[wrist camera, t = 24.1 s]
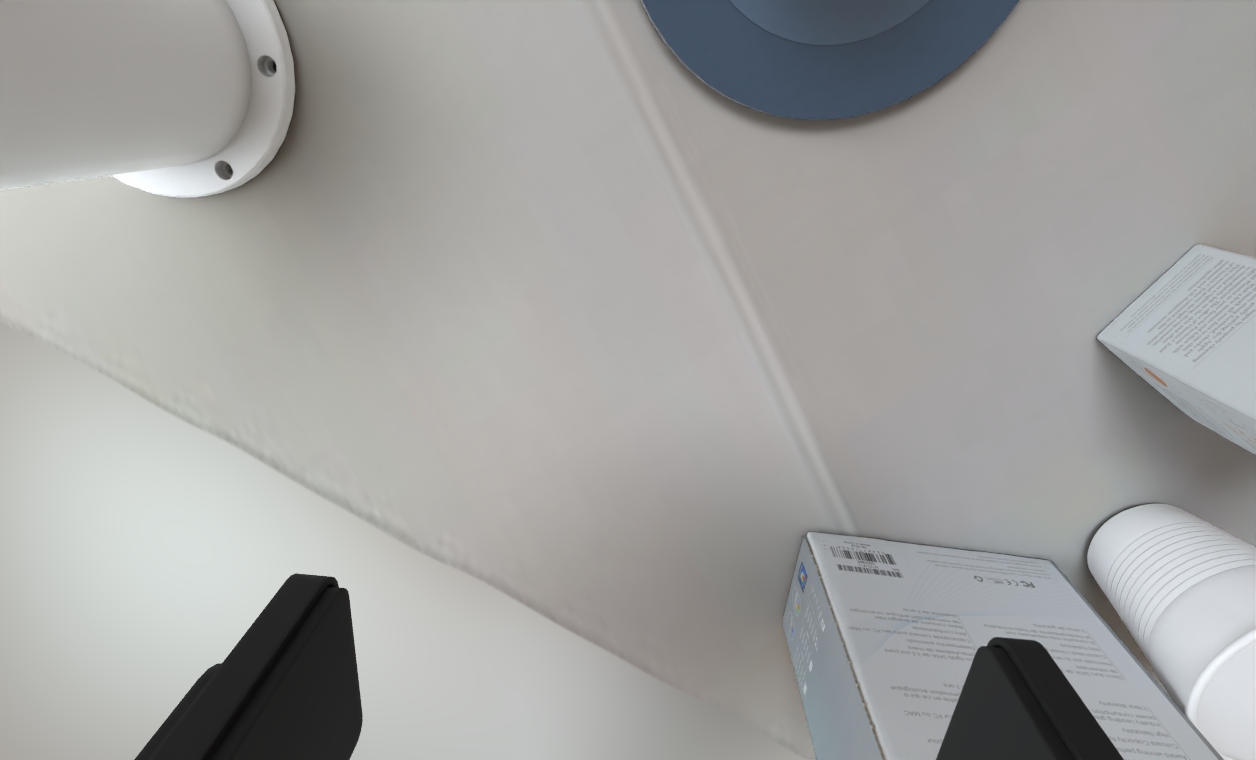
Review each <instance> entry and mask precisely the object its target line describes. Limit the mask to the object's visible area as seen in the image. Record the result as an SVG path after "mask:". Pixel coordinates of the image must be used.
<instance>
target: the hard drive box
mask: <svg viewBox="0 0 1256 760" xmlns="http://www.w3.org/2000/svg"><path fill="white" fill-rule="evenodd" d="M782 626H783V630H784V633H785V637H786V640H787V644H788V648H789V652H790V656H791V660H792V664H793V668H794V672H795V676H796V680H797V684H798V688H799V692H800V695H801V700H802V704H803V708H804V712H805V716H806V720H807V724H808V728H809V732H810V736H811V740H812V744H813V748H814V752H815V756H816V760H936V758H937V755H938V753H939V750H940V747H941V745H942V742H943V739H944V737H945V734H946V731H947V729H948V726H949V723H950V721H951V718H952V715H953V713H954V710H955V707H956V705H957V702H958V699H959V697H960V694H961V691H962V689H963V686H964V683H965V680H966V678H967V675H968V672H969V670H970V667H971V664H972V662H973V659H974V656H975V654H976V652H977V650H978V648H980V647H981V646H987V644H988V642H989V641H990V640H991V639H992V638H994V637H1004V638H1015V639H1026V640H1035V641H1037V642H1039V643H1041V644H1042V645H1043V646H1044V647H1045V649H1046V650H1047V651H1048V653H1049V654H1050V655H1051V657H1052V658H1053V660H1054V661H1055V663H1056V664H1057V665H1058V667H1059V668H1060V670H1061V671H1062V672H1063V674H1064V675H1065V677H1066V678H1067V680H1068V681H1069V682H1070V684H1071V685H1072V687H1073V688H1074V689H1075V691H1076V692H1077V694H1078V695H1079V697H1080V698H1081V699H1082V701H1083V702H1084V704H1085V705H1086V706H1087V708H1088V709H1089V711H1090V712H1091V714H1092V715H1093V716H1094V718H1095V719H1096V721H1097V722H1098V723H1099V725H1100V726H1101V728H1102V729H1103V731H1104V732H1105V733H1106V735H1107V736H1108V738H1109V739H1110V740H1111V742H1112V743H1113V745H1114V746H1115V748H1116V749H1117V750H1118V752H1119V753H1120V755H1121V756H1122V757H1123V759H1124V760H1224V759H1223V758H1222V757H1221V756H1220V755H1219V753H1218V752H1217V751H1216V750H1215V749H1214V748H1213V746H1212V745H1211V744H1210V743H1209V742H1208V741H1207V739H1206V738H1205V737H1204V736H1203V735H1202V734H1201V732H1200V731H1199V730H1198V729H1197V728H1196V727H1195V726H1194V724H1193V723H1192V722H1191V721H1190V720H1189V719H1188V717H1187V716H1186V715H1185V714H1184V713H1183V712H1182V710H1181V709H1180V708H1179V707H1178V706H1177V704H1176V703H1175V702H1174V701H1173V700H1172V699H1171V698H1170V696H1169V695H1168V694H1167V693H1166V692H1165V691H1164V689H1163V688H1162V687H1161V686H1160V685H1159V684H1158V683H1157V681H1156V680H1155V679H1154V678H1153V677H1152V676H1151V675H1150V673H1149V672H1148V671H1147V670H1146V669H1145V668H1144V666H1143V665H1142V664H1141V663H1140V662H1139V661H1138V659H1137V658H1136V657H1135V656H1134V655H1133V653H1132V652H1131V651H1130V650H1129V649H1128V647H1127V646H1126V645H1125V644H1124V643H1123V642H1122V641H1121V639H1120V638H1119V637H1118V636H1117V635H1116V634H1115V633H1114V631H1113V630H1112V629H1111V628H1110V627H1109V625H1108V624H1107V623H1106V622H1105V621H1104V620H1103V619H1102V618H1101V616H1100V615H1099V614H1098V613H1097V612H1096V611H1095V610H1094V608H1093V607H1092V606H1091V605H1090V604H1089V602H1088V601H1087V600H1086V599H1085V598H1084V597H1083V596H1082V594H1081V593H1080V592H1079V591H1078V590H1077V588H1076V587H1075V586H1074V585H1073V584H1072V583H1071V582H1070V580H1069V579H1068V578H1067V577H1066V576H1065V575H1064V574H1063V572H1062V571H1061V570H1060V569H1059V568H1058V567H1057V565H1056V564H1055V563H1054V562H1053V561H1050V560H1042V559H1034V558H1026V557H1017V556H1010V555H1006V554H995V553H989V552H979V551H967V550H959V549H951V548H943V547H935V546H926V545H917V544H909V543H902V542H893V541H885V540H881V539H874V538H865V537H858V536H842V535H834V534H825V533H818V532H808V534H807V536H806V537H803V540H802V544H801V548H800V552H799V555H798V559H797V563H796V567H795V571H794V575H793V579H792V584H791V588H790V591H789V595H788V600H787V604H786V608H785V612H784V616H783V621H782Z"/></svg>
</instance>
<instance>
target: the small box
mask: <svg viewBox="0 0 1256 760" xmlns="http://www.w3.org/2000/svg"><path fill="white" fill-rule="evenodd" d="M1097 339H1098V340H1099V341H1100V342H1101V343H1102V344H1104V345H1105V346H1106V347H1107V348H1108V349H1109V350H1110V351H1111V352H1113V353H1114V354H1115V355H1116V356H1117V357H1118V358H1119V359H1121V360H1122V361H1123V362H1124V363H1125V364H1126V365H1128V366H1129V367H1130V368H1131V369H1132V370H1134V371H1135V372H1136V373H1137V374H1138V375H1139V376H1141V377H1142V378H1143V379H1144V380H1145V381H1147V382H1148V383H1149V384H1150V385H1151V386H1153V387H1154V388H1155V389H1156V390H1157V391H1158V392H1160V393H1161V394H1162V395H1163V396H1164V397H1166V398H1167V399H1168V400H1169V401H1170V402H1172V403H1173V404H1174V405H1175V406H1176V407H1178V408H1179V409H1180V410H1181V411H1182V412H1184V413H1185V414H1186V415H1188V416H1189V417H1190V418H1192V419H1193V420H1195V421H1197V422H1199V423H1200V424H1202V425H1204V426H1206V427H1207V428H1209V429H1211V430H1213V431H1214V432H1216V433H1218V434H1220V435H1221V436H1223V437H1225V438H1226V439H1228V440H1230V441H1232V442H1233V443H1235V444H1237V445H1239V446H1241V447H1242V448H1244V449H1246V450H1248V451H1249V452H1251V453H1253V454H1255V455H1256V258H1255V257H1251V256H1247V255H1243V254H1239V253H1236V252H1232V251H1227V250H1223V249H1220V248H1216V247H1212V246H1208V245H1204V244H1198V245H1195V246H1193V247H1192V248H1191V249H1190V250H1189V251H1188V252H1187V253H1186V254H1185V255H1184V256H1183V257H1182V258H1181V259H1180V260H1178V261H1177V262H1176V263H1175V264H1174V265H1173V266H1172V267H1171V268H1170V269H1169V270H1168V271H1167V272H1165V273H1164V274H1163V275H1162V276H1161V277H1160V278H1159V279H1158V280H1157V281H1156V282H1155V283H1154V284H1153V285H1151V286H1150V287H1149V288H1148V289H1147V290H1146V291H1145V292H1144V293H1143V294H1142V295H1141V296H1139V297H1138V298H1137V299H1136V300H1135V301H1134V302H1133V303H1132V304H1130V305H1129V306H1128V307H1127V308H1126V309H1125V310H1124V311H1123V312H1122V313H1121V314H1120V315H1119V316H1118V317H1116V318H1115V319H1114V320H1113V321H1112V322H1111V323H1110V324H1109V325H1108V326H1107V327H1106V328H1105V329H1104V330H1103V331H1102V332H1101V333H1100V334H1099V335H1098V336H1097Z"/></svg>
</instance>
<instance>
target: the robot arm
mask: <svg viewBox="0 0 1256 760" xmlns="http://www.w3.org/2000/svg"><path fill="white" fill-rule="evenodd" d="M274 62H275V64H276V66H277V69H276V72H275V71H274V69H273V63H274ZM294 97H295V77H294V62H293V57H292V53H291V49H290V45H289V40H288V36H287V32H286V30H285V27H284V25H283V22H282V20H281V17H280V15H279V12H278V10H277V8H276V5H275V3H274V1H273V0H0V191H1V190H8V189H15V188H23V187H30V186H37V185H44V184H51V183H59V182H66V181H73V180H80V179H88V178H95V177H102V176H109V175H110V176H112V177H114V178H115V179H117V180H119V181H121V182H122V183H124V184H126V185H129V186H132V187H134V188H137V189H140V190H142V191H145V192H148V193H151V194H156V195H162V196H167V197H173V198H199V197H204V196H209V195H214V194H219V193H222V192H225V191H228V190H231V189H234V188H237V187H239V186H241V185H243V184H244V183H246V182H247V181H249V180H251V179H252V178H254V177H255V176H257V175H258V174H259V173H260V172H261V171H262V170H263V169H264V168H265V167H266V166H267V165H268V164H269V163H270V162H271V161H272V159H273V158H274V157H275V155H276V153H277V151H278V150H279V148H280V146H281V145H282V143H283V141H284V139H285V137H286V134H287V131H288V128H289V124H290V121H291V118H292V115H293V106H294ZM231 167H232V170H233V172H232V170H231ZM361 727H362V707H361V699H360V690H359V681H358V673H357V663H356V654H355V646H354V636H353V627H352V619H351V609H350V600H349V594H348V591H347V590H346V589H345V588H339V586H338V582H337V580H336V579H335V578H334V577H327V576H316V575H305V574H294V575H291V576H290V577H289V578H288V579H287V580H286V582H285V583H284V584H283V585H282V587H281V588H280V589H279V591H278V592H277V593H276V595H275V596H274V597H273V599H272V600H271V601H270V602H269V604H268V605H267V606H266V608H265V609H264V610H263V612H262V613H261V614H260V615H259V617H258V618H257V619H256V620H255V622H254V623H253V624H252V626H251V627H250V628H249V630H248V631H247V632H246V634H245V635H244V636H243V637H242V638H241V640H240V641H239V642H238V644H237V645H236V646H235V648H234V649H233V650H232V652H231V653H230V654H229V655H228V657H227V658H226V659H225V660H224V662H223V663H222V664H216V665H214V666H212V667H211V668H209V669H208V670H207V671H206V672H205V673H204V674H203V675H202V676H201V677H200V678H199V679H198V680H197V681H196V683H195V684H194V685H193V686H192V688H191V689H190V690H189V692H188V693H187V694H186V695H185V697H184V698H183V699H182V701H181V702H180V703H179V704H178V705H177V707H176V708H175V709H174V710H173V712H172V713H171V714H170V716H169V717H168V718H167V719H166V721H165V722H164V723H163V724H162V726H161V727H160V728H159V729H158V731H157V732H156V733H155V734H154V736H153V737H152V738H151V739H150V741H149V742H148V743H147V744H146V746H145V747H144V748H143V750H142V751H141V752H140V753H139V755H138V756H137V757H136V759H135V760H349V759H350V757H351V755H352V753H353V750H354V748H355V746H356V744H357V741H358V739H359V735H360V732H361ZM936 760H1124V759H1123V757H1122V756H1121V755H1120V753H1119V752H1118V750H1117V749H1116V748H1115V746H1114V745H1113V743H1112V742H1111V740H1110V739H1109V738H1108V736H1107V735H1106V733H1105V732H1104V731H1103V729H1102V728H1101V726H1100V725H1099V723H1098V722H1097V721H1096V719H1095V718H1094V716H1093V715H1092V714H1091V712H1090V711H1089V709H1088V708H1087V706H1086V705H1085V704H1084V702H1083V701H1082V699H1081V698H1080V697H1079V695H1078V694H1077V692H1076V691H1075V689H1074V688H1073V687H1072V685H1071V684H1070V682H1069V681H1068V680H1067V678H1066V677H1065V675H1064V674H1063V672H1062V671H1061V670H1060V668H1059V667H1058V665H1057V664H1056V663H1055V661H1054V660H1053V658H1052V657H1051V655H1050V654H1049V653H1048V651H1047V650H1046V649H1045V647H1044V646H1043V645H1042V644H1041V643H1039V642H1037V641H1035V640H1026V639H1015V638H1004V637H994V638H992V639H991V640H990V641H989V642H988V644H987V646H981V647H980V648H978V650H977V652H976V654H975V656H974V659H973V662H972V664H971V667H970V670H969V672H968V675H967V678H966V680H965V683H964V686H963V689H962V691H961V694H960V697H959V699H958V702H957V705H956V707H955V710H954V713H953V715H952V718H951V721H950V723H949V726H948V729H947V731H946V734H945V737H944V739H943V742H942V745H941V747H940V750H939V753H938V755H937V758H936Z"/></svg>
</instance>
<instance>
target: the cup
mask: <svg viewBox="0 0 1256 760" xmlns="http://www.w3.org/2000/svg"><path fill="white" fill-rule="evenodd" d="M1087 561H1088V567H1089V569H1090V572H1091V574H1092V575H1093V577H1094V578H1095V580H1096V582H1097V583H1098V585H1099V586H1100V588H1101V589H1102V591H1103V592H1104V594H1105V596H1106V597H1107V598H1108V600H1109V601H1110V603H1111V605H1112V606H1113V607H1114V609H1115V611H1116V612H1117V613H1118V615H1119V617H1120V618H1121V620H1122V621H1123V623H1124V625H1125V626H1126V627H1127V629H1128V631H1129V632H1130V634H1131V635H1132V637H1133V639H1134V640H1135V641H1136V643H1137V645H1138V647H1139V648H1140V649H1141V650H1142V653H1143V654H1144V656H1145V657H1146V658H1147V660H1148V662H1149V663H1150V665H1151V666H1152V668H1153V670H1154V672H1155V673H1156V675H1157V677H1158V678H1159V680H1160V681H1161V683H1162V684H1163V686H1164V687H1165V689H1166V691H1167V692H1168V694H1169V695H1170V697H1171V698H1172V700H1173V701H1174V702H1175V703H1176V704H1177V706H1178V707H1179V708H1180V709H1181V710H1182V712H1183V713H1184V714H1185V715H1186V716H1187V717H1188V719H1189V720H1190V721H1191V722H1192V723H1193V724H1194V726H1195V727H1196V728H1197V729H1198V730H1199V731H1200V732H1201V734H1202V735H1203V736H1204V737H1205V738H1206V739H1207V741H1208V742H1209V743H1210V744H1211V745H1212V746H1213V748H1214V749H1215V750H1216V751H1217V752H1218V753H1219V755H1220V756H1221V757H1222V758H1223V759H1224V760H1256V547H1254V546H1252V545H1251V544H1249V543H1246V542H1244V541H1242V540H1241V539H1239V538H1237V537H1235V536H1233V535H1231V534H1229V533H1227V532H1225V531H1223V530H1221V529H1219V528H1217V527H1215V526H1214V525H1212V524H1210V523H1208V522H1206V521H1204V520H1202V519H1200V518H1198V517H1196V516H1194V515H1192V514H1190V513H1188V512H1186V511H1184V510H1182V509H1180V508H1178V507H1176V506H1172V505H1168V504H1156V503H1155V504H1146V505H1141V506H1137V507H1133V508H1130V509H1127V510H1125V511H1122V512H1120V513H1118V514H1117V515H1115V516H1113V517H1112V518H1110V519H1109V520H1108V521H1107V522H1105V523H1104V524H1103V525H1102V526H1101V528H1100V529H1099V530H1098V531H1097V533H1096V534H1095V536H1094V537H1093V539H1092V541H1091V544H1090V546H1089V549H1088V555H1087Z"/></svg>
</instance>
